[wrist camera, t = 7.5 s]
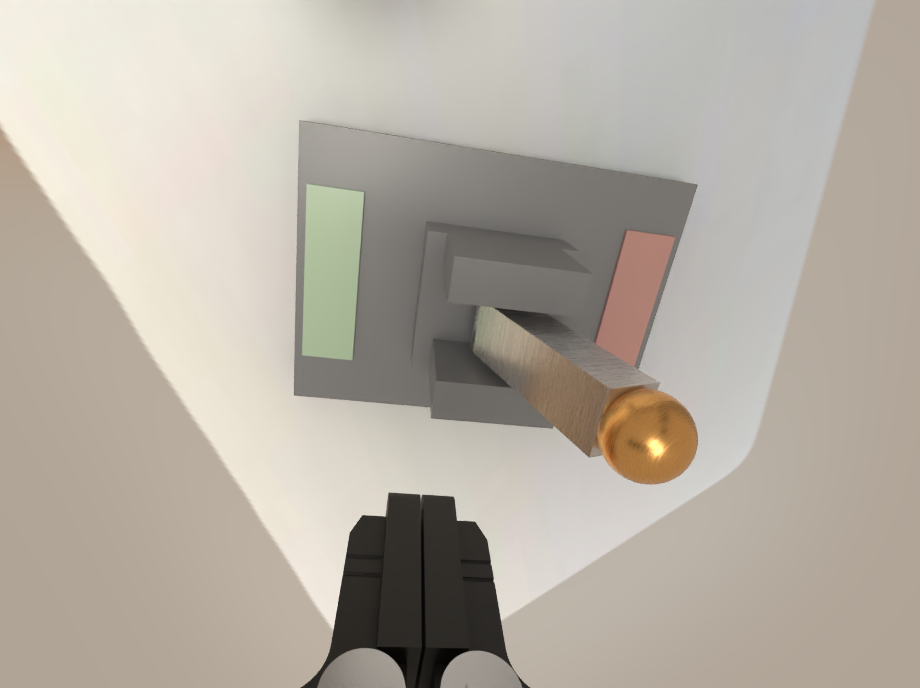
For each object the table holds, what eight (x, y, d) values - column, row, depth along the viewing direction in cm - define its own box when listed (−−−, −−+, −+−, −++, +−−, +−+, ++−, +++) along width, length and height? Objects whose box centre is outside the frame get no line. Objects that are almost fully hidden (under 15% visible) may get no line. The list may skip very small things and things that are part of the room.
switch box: (307, 121, 26) (249, 114, 17) (680, 181, 29) (799, 202, 20) (300, 380, 32) (255, 477, 23) (609, 408, 35) (677, 504, 26)
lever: (464, 288, 24) (664, 427, 14) (517, 288, 26) (733, 414, 15) (454, 346, 25) (632, 514, 15) (506, 343, 27) (700, 494, 17)
